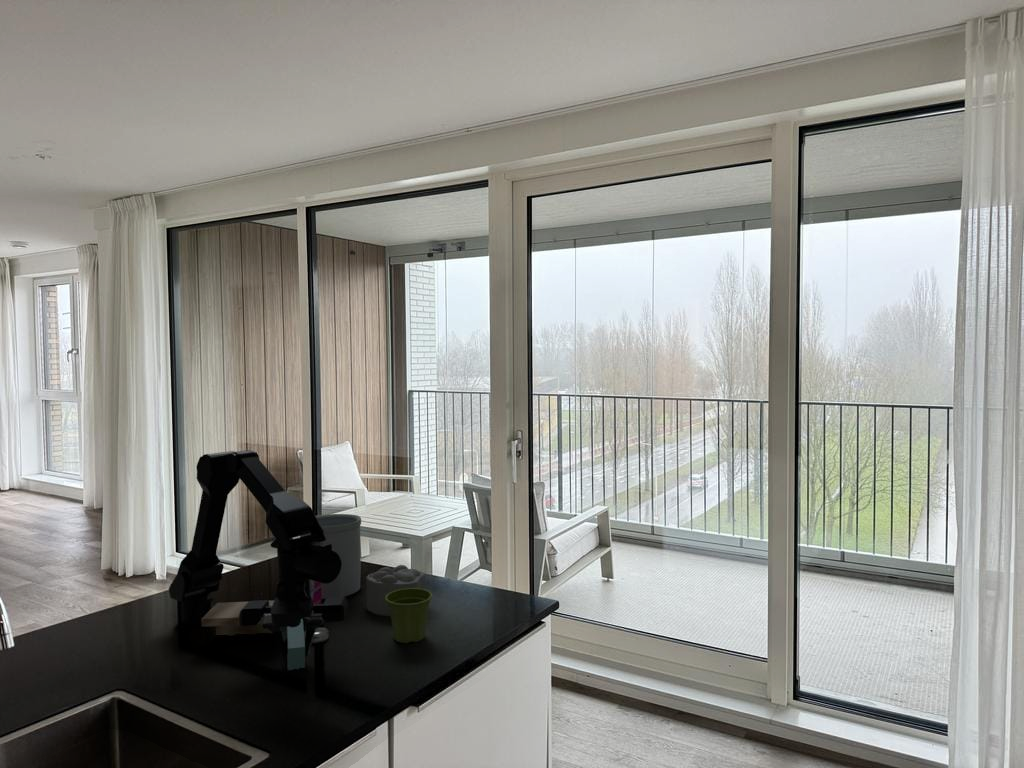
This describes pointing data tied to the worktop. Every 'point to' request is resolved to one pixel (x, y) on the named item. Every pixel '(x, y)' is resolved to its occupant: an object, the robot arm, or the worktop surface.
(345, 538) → the utensil holder
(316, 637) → the steel token
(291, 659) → the dark grey-teal rectangular block
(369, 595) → the lumpy-topped squat cylinder
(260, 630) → the oak plinth shelf
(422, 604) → the plant pot
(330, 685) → the worktop surface
